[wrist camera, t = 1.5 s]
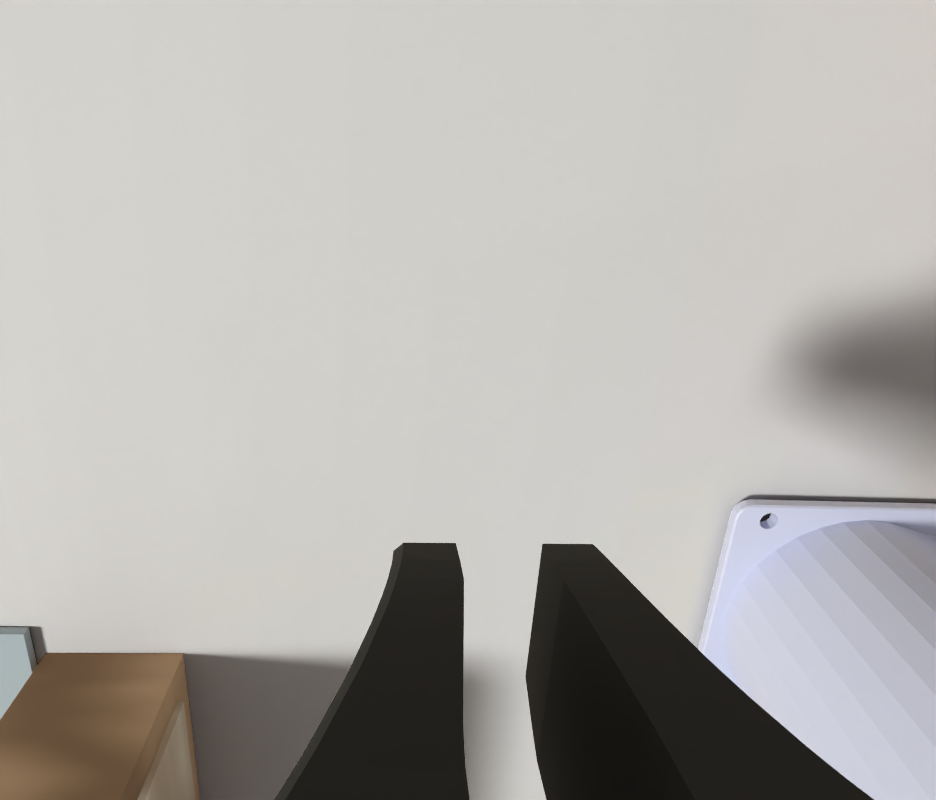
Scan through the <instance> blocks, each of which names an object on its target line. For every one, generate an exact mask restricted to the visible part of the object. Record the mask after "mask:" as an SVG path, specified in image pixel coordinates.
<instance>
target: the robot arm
mask: <svg viewBox="0 0 936 800" xmlns="http://www.w3.org/2000/svg"><path fill="white" fill-rule="evenodd" d="M769 513H771V515H770V517H769V518H768V519H767V520H765V521H761V522H760V520H761V518H762V517H763V516H764V515H766V514H769ZM463 630H464V578H463V573H462V568H461V563H460V559H459V555H458V551H457V547H456V543H403V544H402V545H401V546H399V547H398V548H397V549H396V550H394V552H393V560H392V566H391V569H390V573H389V577H388V580H387V583H386V587H385V589H384V592H383V595H382V598H381V600H380V603H379V605H378V608H377V610H376V613H375V615H374V618H373V620H372V623H371V625H370V627H369V629H368V631H367V634H366V636H365V638H364V640H363V642H362V644H361V646H360V649H359V651H358V653H357V655H356V657H355V659H354V661H353V664H352V666H351V668H350V670H349V672H348V674H347V676H346V678H345V680H344V682H343V684H342V686H341V687H340V689H339V691H338V693H337V695H336V696H335V698H334V700H333V702H332V704H331V705H330V707H329V709H328V711H327V712H326V714H325V716H324V718H323V720H322V721H321V723H320V725H319V727H318V729H317V730H316V732H315V734H314V736H313V738H312V739H311V741H310V743H309V745H308V747H307V748H306V750H305V752H304V753H303V755H302V757H301V758H300V760H299V762H298V763H297V765H296V766H295V768H294V770H293V771H292V773H291V775H290V776H289V778H288V779H287V781H286V783H285V784H284V786H283V787H282V789H281V791H280V792H279V794H278V795H277V797H276V798H275V800H469V793H468V786H467V778H466V770H465V755H464V736H463ZM526 683H527V691H528V698H529V706H530V714H531V722H532V729H533V736H534V743H535V749H536V756H537V762H538V766H539V770H540V775H541V779H542V783H543V787H544V791H545V795H546V799H547V800H936V504H930V503H886V502H843V501H799V500H755V499H750V500H744V501H742V502H740V503H738V504H737V505H736V506H735V507H734V508H733V509H732V511H731V514H730V517H729V522H728V526H727V530H726V534H725V538H724V542H723V546H722V551H721V555H720V559H719V563H718V567H717V571H716V575H715V580H714V584H713V588H712V592H711V596H710V600H709V604H708V609H707V613H706V617H705V621H704V625H703V629H702V633H701V638H700V642H699V646H698V649H697V648H696V647H695V646H694V645H693V644H692V643H691V642H690V641H689V640H688V639H687V638H686V637H685V636H684V635H683V634H682V633H681V632H680V631H679V630H678V629H677V628H676V627H675V626H674V625H673V624H671V623H670V622H669V621H668V620H667V619H666V618H665V617H664V616H663V615H662V614H661V613H660V612H659V611H658V610H657V609H656V608H655V607H654V606H653V605H652V604H651V602H650V601H649V600H648V599H647V598H646V597H645V596H644V595H643V594H642V593H641V592H640V591H639V590H638V589H637V588H636V587H635V586H634V585H633V584H632V583H631V582H630V581H629V580H628V579H627V578H626V577H625V576H624V575H623V574H622V573H621V572H620V571H619V570H618V569H617V568H616V567H615V566H614V565H613V564H612V563H611V562H610V561H609V560H608V559H607V558H606V557H605V556H604V555H603V554H602V553H601V552H600V551H599V550H598V549H597V548H596V547H595V546H594V545H593V544H543V545H542V552H541V560H540V568H539V576H538V584H537V592H536V599H535V607H534V615H533V623H532V631H531V638H530V646H529V654H528V662H527V670H526Z"/></svg>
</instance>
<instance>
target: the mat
mask: <svg viewBox="0 0 936 800" xmlns="http://www.w3.org/2000/svg"><path fill="white" fill-rule="evenodd" d="M36 667H37V663H36V658H35V653H34V649H33V644H32V640H31V635H30V630H29V627H0V720H1V718H2V717H3V715H4V714H5V712H6V711H7V709H8V708H9V706H10V705H11V703H12V702H13V701H14V699H15V698H16V696H17V695H18V693H19V692H20V690H21V689H22V687H23V686H24V684H25V683H26V681H27V680H28V679H29V677H30V676H31V674H32V673H33V671H34V670H35V668H36Z"/></svg>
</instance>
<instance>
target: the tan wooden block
mask: <svg viewBox="0 0 936 800" xmlns="http://www.w3.org/2000/svg"><path fill="white" fill-rule="evenodd" d="M0 800H200V793H199V784H198V775H197V767H196V758H195V749H194V741H193V732H192V723H191V715H190V706H189V697H188V688H187V680H186V671H185V662H184V654H183V653H46V654H45V655H44V657H43V658H42V660H41V661H40V662H39V664H38V665H37V667H36V668H35V670H34V671H33V673H32V674H31V676H30V677H29V679H28V680H27V681H26V683H25V684H24V686H23V687H22V689H21V690H20V692H19V693H18V695H17V696H16V698H15V699H14V701H13V702H12V703H11V705H10V706H9V708H8V709H7V711H6V712H5V714H4V715H3V717H2V718H1V720H0Z"/></svg>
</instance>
